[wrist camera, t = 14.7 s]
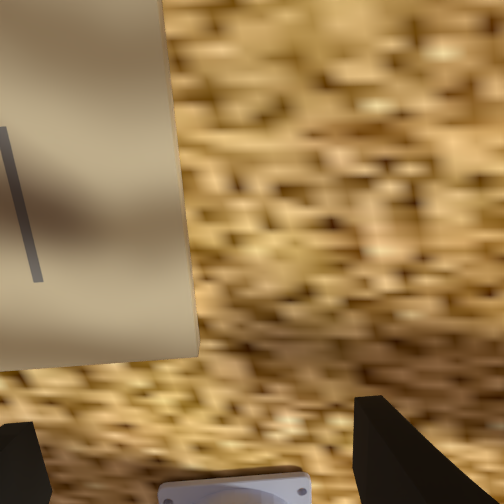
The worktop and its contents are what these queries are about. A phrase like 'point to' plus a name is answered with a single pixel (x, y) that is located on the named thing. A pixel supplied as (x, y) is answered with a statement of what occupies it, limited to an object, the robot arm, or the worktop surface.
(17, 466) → the robot arm
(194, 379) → the worktop surface
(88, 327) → the board
